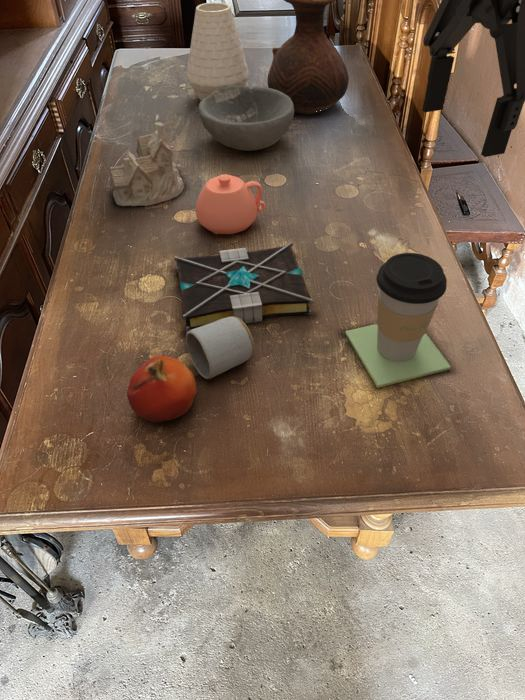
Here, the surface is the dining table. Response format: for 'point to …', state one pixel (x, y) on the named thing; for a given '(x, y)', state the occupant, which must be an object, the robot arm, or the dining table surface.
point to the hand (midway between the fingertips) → (460, 130)
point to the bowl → (246, 116)
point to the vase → (215, 51)
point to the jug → (309, 62)
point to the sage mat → (391, 371)
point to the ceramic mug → (219, 346)
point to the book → (242, 286)
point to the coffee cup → (406, 303)
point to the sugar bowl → (228, 204)
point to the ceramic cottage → (147, 172)
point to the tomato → (161, 389)
